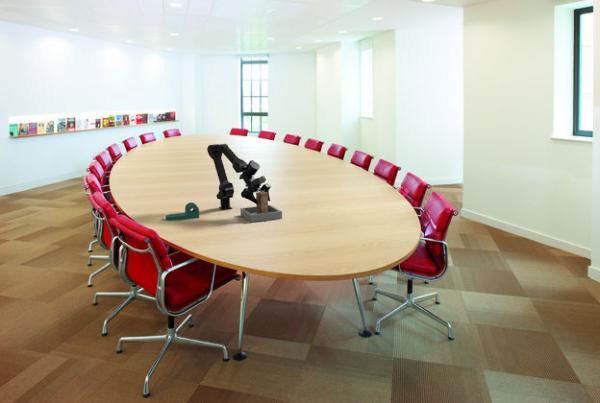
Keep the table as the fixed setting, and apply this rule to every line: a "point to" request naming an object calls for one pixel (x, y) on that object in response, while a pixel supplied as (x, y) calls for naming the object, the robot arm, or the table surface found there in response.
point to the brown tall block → (262, 202)
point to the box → (252, 215)
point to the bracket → (187, 214)
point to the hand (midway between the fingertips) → (263, 202)
